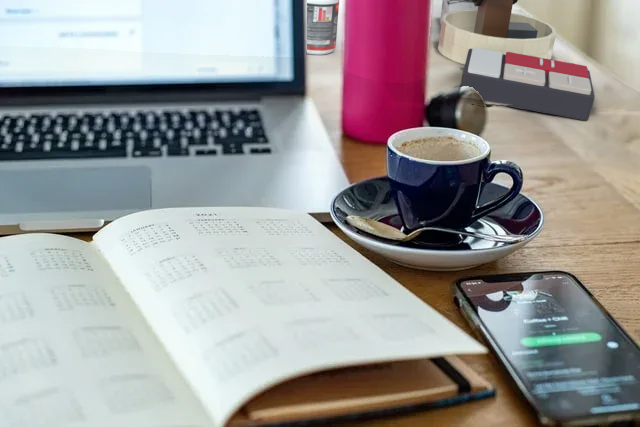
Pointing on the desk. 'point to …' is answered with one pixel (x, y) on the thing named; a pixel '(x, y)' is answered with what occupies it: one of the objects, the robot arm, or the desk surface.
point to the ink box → (456, 6)
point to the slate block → (521, 31)
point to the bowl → (491, 37)
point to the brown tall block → (493, 18)
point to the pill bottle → (322, 26)
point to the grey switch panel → (530, 82)
